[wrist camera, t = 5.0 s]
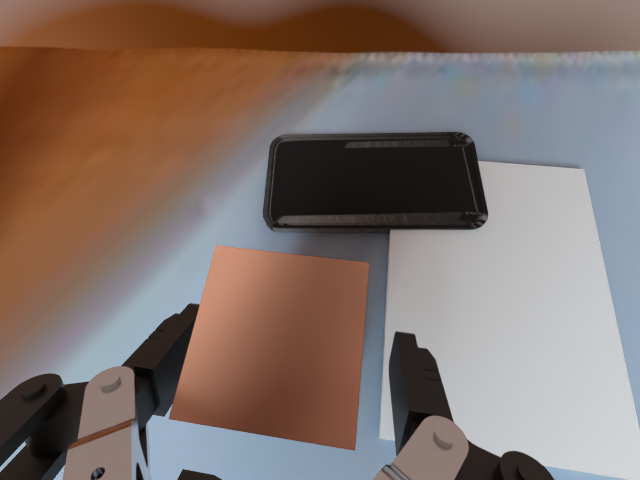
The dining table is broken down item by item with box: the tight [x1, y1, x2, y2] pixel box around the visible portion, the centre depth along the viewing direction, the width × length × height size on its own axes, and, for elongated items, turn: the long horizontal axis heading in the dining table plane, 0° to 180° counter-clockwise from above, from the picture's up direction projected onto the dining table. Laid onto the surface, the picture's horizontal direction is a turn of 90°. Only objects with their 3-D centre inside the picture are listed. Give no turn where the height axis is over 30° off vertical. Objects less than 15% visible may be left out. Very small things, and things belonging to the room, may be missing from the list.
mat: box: [378, 161, 640, 480], centre depth 19 cm, size 13×18×1 cm
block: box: [169, 245, 369, 450], centre depth 13 cm, size 5×5×10 cm
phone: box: [263, 132, 488, 233], centre depth 22 cm, size 8×1×15 cm
